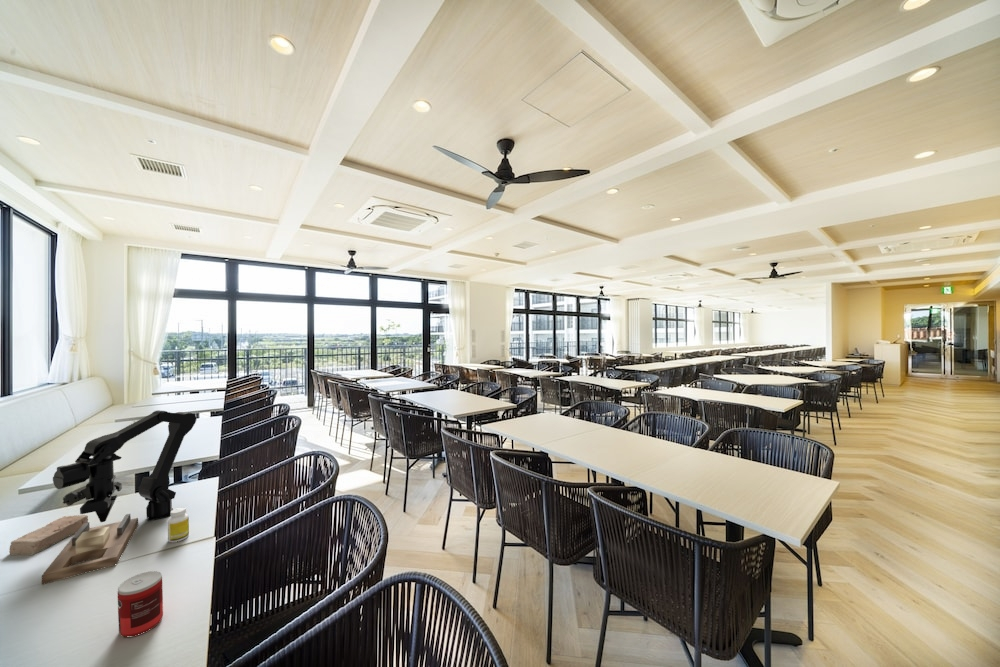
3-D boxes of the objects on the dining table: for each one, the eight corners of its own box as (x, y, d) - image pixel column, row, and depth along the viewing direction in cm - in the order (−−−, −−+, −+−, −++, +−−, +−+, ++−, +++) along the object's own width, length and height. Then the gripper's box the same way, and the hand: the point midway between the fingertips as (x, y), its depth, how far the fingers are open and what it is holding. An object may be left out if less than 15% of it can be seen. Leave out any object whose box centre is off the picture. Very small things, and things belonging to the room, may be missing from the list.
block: (109, 538, 122) (109, 526, 122) (103, 547, 117) (103, 534, 117) (83, 544, 119) (82, 532, 119) (76, 554, 114) (75, 541, 114)
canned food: (138, 614, 94) (136, 571, 93) (171, 612, 94) (170, 569, 94) (108, 640, 86) (107, 593, 86) (145, 637, 87) (144, 591, 86)
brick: (35, 555, 118) (34, 540, 118) (7, 556, 118) (6, 541, 118) (89, 527, 135) (89, 514, 135) (65, 527, 134) (65, 514, 134)
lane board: (138, 524, 136) (137, 510, 135) (116, 564, 113) (116, 548, 113) (78, 538, 127) (77, 523, 127) (41, 584, 104) (41, 567, 104)
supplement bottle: (192, 536, 128) (191, 508, 128) (173, 544, 123) (172, 515, 123) (183, 532, 130) (183, 504, 130) (164, 540, 125) (164, 512, 125)
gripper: (76, 472, 129) (78, 517, 129) (54, 493, 113) (56, 543, 114) (121, 465, 135) (122, 507, 136) (106, 483, 120) (108, 531, 120)
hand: (103, 521), depth 126 cm, fingers closed
